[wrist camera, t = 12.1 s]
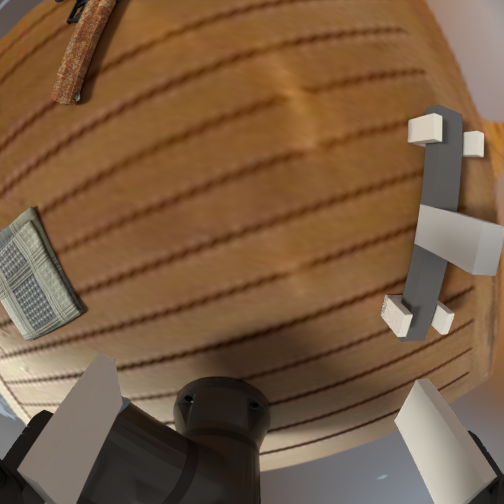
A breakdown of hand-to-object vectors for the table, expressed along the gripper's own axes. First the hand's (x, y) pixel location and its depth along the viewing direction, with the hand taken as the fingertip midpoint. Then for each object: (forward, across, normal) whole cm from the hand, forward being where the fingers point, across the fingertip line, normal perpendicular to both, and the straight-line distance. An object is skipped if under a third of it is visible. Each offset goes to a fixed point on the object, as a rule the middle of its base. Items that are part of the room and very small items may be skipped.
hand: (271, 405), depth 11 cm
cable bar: (+23, -21, -7) cm, 32 cm away
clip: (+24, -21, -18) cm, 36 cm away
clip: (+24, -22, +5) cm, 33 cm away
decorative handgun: (+25, +30, -32) cm, 50 cm away
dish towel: (+26, +36, +9) cm, 45 cm away
